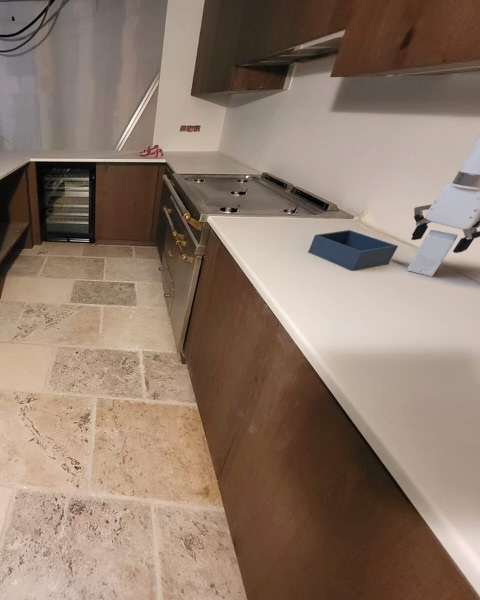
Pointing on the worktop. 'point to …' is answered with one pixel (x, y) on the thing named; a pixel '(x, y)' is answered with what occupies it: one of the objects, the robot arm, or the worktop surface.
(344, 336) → the worktop surface
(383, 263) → the tray
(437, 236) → the small box
